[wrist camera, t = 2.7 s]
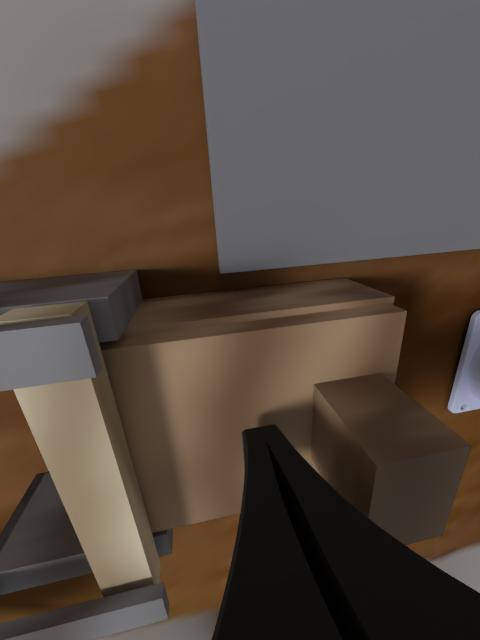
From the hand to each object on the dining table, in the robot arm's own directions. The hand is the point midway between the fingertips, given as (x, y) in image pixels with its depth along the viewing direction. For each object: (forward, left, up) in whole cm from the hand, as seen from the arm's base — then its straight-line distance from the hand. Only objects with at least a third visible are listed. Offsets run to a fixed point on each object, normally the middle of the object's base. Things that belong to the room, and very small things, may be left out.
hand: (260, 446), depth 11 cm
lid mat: (-8, -12, -6) cm, 15 cm away
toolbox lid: (0, 0, -2) cm, 2 cm away
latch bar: (+6, 0, 0) cm, 6 cm away
